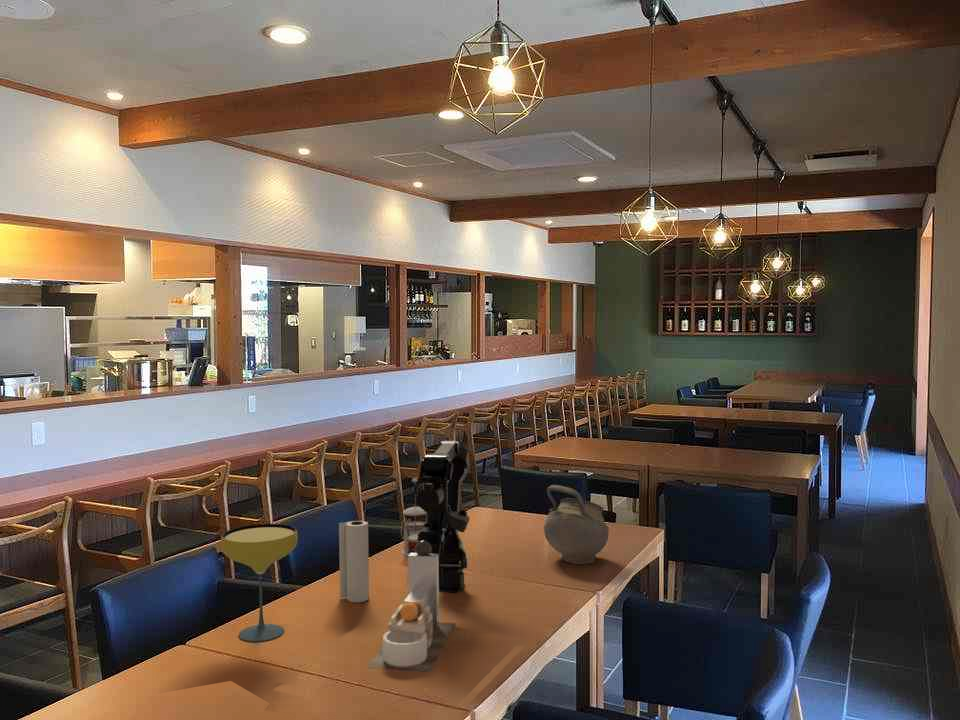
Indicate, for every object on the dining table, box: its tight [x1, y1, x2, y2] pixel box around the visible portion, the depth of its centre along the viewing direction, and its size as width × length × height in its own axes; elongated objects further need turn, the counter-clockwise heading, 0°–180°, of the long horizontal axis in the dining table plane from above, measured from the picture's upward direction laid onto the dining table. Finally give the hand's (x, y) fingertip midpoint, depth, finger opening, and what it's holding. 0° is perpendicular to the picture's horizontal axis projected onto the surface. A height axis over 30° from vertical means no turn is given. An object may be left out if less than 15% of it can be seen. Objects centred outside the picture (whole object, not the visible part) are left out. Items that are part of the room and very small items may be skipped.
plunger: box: [403, 540, 440, 629], centre depth 188 cm, size 13×7×21 cm, turn 171°
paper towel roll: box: [338, 520, 370, 603], centre depth 216 cm, size 7×6×21 cm
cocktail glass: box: [220, 523, 299, 643], centre depth 192 cm, size 18×18×25 cm
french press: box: [400, 477, 428, 557], centre depth 260 cm, size 10×12×25 cm
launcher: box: [366, 603, 456, 673], centre depth 182 cm, size 28×14×10 cm, turn 171°
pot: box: [543, 484, 610, 565], centre depth 251 cm, size 21×21×25 cm
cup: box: [382, 630, 427, 667], centre depth 175 cm, size 10×10×5 cm
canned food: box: [408, 534, 418, 555], centre depth 240 cm, size 8×8×11 cm
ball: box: [400, 603, 418, 621], centre depth 178 cm, size 4×4×4 cm
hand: (437, 560), depth 208 cm, fingers open, 2 cm apart
